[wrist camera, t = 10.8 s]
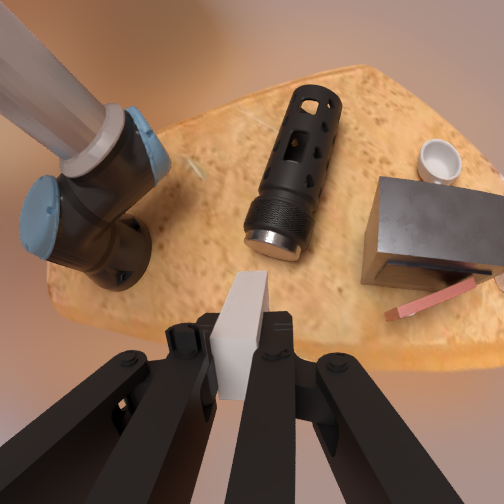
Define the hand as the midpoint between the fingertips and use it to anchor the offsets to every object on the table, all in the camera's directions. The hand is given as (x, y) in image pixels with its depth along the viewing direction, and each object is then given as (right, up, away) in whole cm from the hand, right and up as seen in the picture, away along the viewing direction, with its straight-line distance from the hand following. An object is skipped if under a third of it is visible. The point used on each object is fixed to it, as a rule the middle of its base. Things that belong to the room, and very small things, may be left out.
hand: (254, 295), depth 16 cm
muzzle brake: (+8, +14, +35) cm, 38 cm away
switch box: (+24, +1, +26) cm, 36 cm away
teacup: (+31, +15, +29) cm, 45 cm away
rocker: (+22, -5, +19) cm, 29 cm away
